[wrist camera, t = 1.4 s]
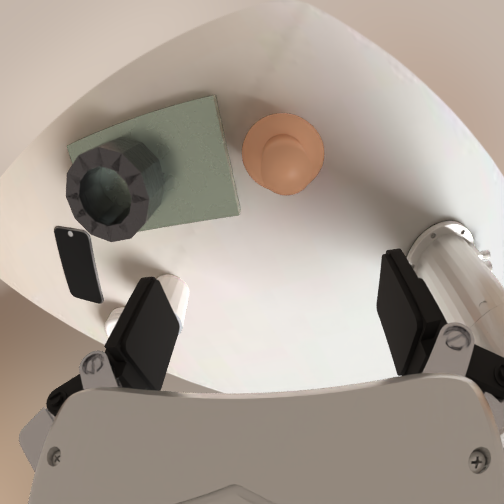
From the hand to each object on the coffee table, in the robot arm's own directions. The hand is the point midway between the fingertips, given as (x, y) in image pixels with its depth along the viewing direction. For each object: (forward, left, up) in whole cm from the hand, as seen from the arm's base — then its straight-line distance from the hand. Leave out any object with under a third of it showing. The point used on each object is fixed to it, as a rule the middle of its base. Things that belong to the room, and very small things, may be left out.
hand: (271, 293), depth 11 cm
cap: (-1, -1, -23) cm, 23 cm away
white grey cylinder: (+18, +17, -23) cm, 34 cm away
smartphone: (+34, +11, -23) cm, 42 cm away
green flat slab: (+15, -1, -23) cm, 27 cm away
